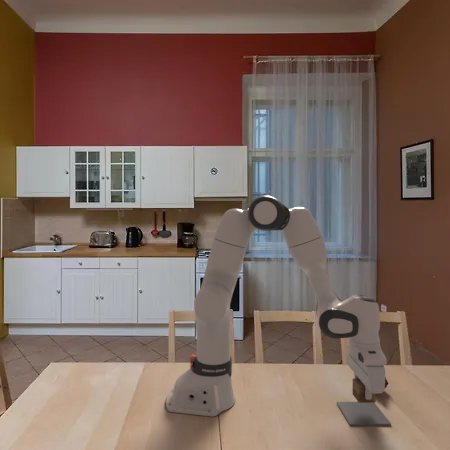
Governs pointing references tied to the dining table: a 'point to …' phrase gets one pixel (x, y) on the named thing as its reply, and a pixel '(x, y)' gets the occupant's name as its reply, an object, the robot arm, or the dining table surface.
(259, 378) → the dining table surface
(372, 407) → the coaster
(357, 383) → the cube
